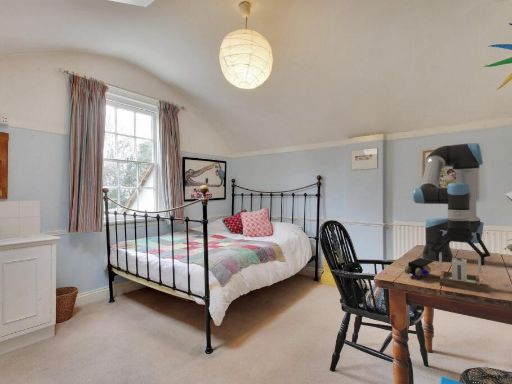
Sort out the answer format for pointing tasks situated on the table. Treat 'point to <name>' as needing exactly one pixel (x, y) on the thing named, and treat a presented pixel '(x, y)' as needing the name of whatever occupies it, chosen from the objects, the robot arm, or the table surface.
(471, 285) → the brown wooden square tray
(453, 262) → the strip block
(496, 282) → the table surface
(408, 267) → the figurine character
